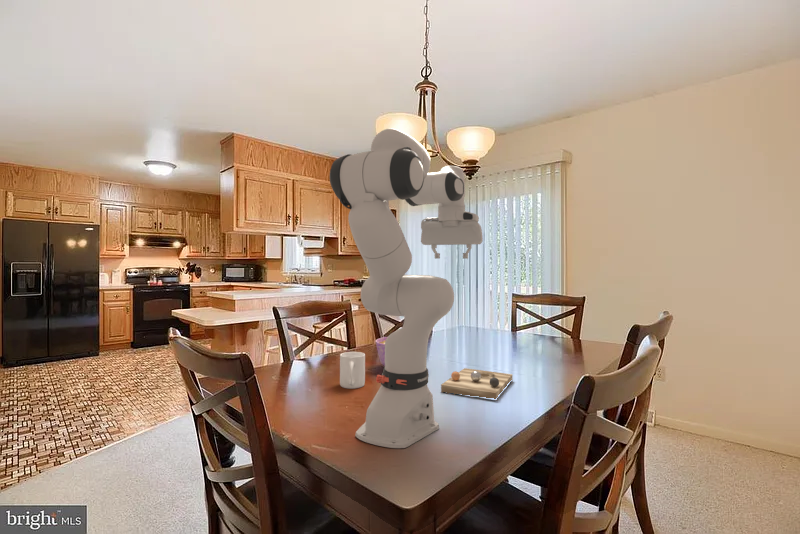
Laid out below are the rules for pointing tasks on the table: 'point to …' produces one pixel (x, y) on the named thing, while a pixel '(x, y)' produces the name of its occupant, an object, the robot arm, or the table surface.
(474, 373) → the ball
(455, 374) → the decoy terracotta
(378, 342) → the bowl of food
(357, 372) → the mug
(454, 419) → the table surface
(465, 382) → the board
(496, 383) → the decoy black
